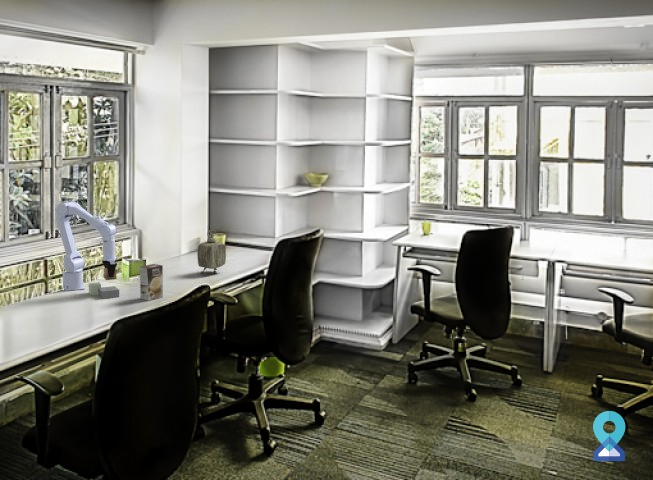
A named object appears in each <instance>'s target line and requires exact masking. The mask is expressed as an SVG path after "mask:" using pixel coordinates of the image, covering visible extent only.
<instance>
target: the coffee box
mask: <svg viewBox="0 0 653 480" xmlns="http://www.w3.org/2000/svg"><path fill="white" fill-rule="evenodd" d="M163 268H164V266H163V265H161V264H157V263H153V264H148V265H141V266H139V276H140V277H139V284H140V285H139V288H140V289H139V290H140V291H139V292H140V293H139V294H140V300H144V301H148V302H149V301H150V302H151V301H153V300H158V299H161V298H164V285H163V283H164V279H163V278H164V277H163V276H164V274H163V273H164V272H163V270H164V269H163Z"/></svg>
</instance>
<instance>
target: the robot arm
mask: <svg viewBox="0 0 653 480" xmlns="http://www.w3.org/2000/svg"><path fill="white" fill-rule="evenodd" d="M55 212H56V224H57V227H58V230H59V235H60V239H61V241H62V244H63V248H64V251H65V255H64V257H63V268H64V270H65V271H64V272H62V288H63V290H64V291H65V292H69V291H78V290H85V289H86V287H85V286H84V285H83V284H84V281H83V270H84V268H85V267H86V261H85V259H84V257H83V255H82V253H80V252H79V251H78V250H77V246H76V241H75V239H74V235H73V232H72V228H71V225H70V220H71V218H72V217H73V216H75V215H76V216H79V217H80V218H81V219H83V220H85V221H86V222H88V223H89V226H90V227H92V228H93V229H94V230H96V231H98V232H99V234H100V236H101V239H102V256H103V257H102V260H101V263H102V265H103V267H104V268H107V270H108V275H109V277H114V272H115V269H116V268H117V266H118V262H116V260H117V259H119V256H116V242H115V241H116V240H115V238H116V237H115V236H116V234H117V232H118V229H117V226H116V225H115V224H114V223H109V222H107V221H105V220H103V218H101V216H100V215H98V216H97V215H95V216H94V215H92V214H91V213H90V212H88V211H87V210H86V209H84V207H82V206H81V204H79V203H77V202H76V201H74V200H71V201H66V202H60V203H58V205H57V206H56V207H55Z"/></svg>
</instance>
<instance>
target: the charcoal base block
mask: <svg viewBox="0 0 653 480" xmlns="http://www.w3.org/2000/svg"><path fill="white" fill-rule="evenodd" d="M98 296H99V297H100V298H101V299H102V300H106V299H115V298H120V289H119V288H117V287H116V286H104V287H102V286H101V288H98Z"/></svg>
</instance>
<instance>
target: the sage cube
mask: <svg viewBox="0 0 653 480" xmlns="http://www.w3.org/2000/svg"><path fill="white" fill-rule="evenodd" d="M98 288H102V284H101V283H100V282H88V293H90V294H89V295H90V296H95V295H96V296H97V295H98ZM98 296H99V295H98Z"/></svg>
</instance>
